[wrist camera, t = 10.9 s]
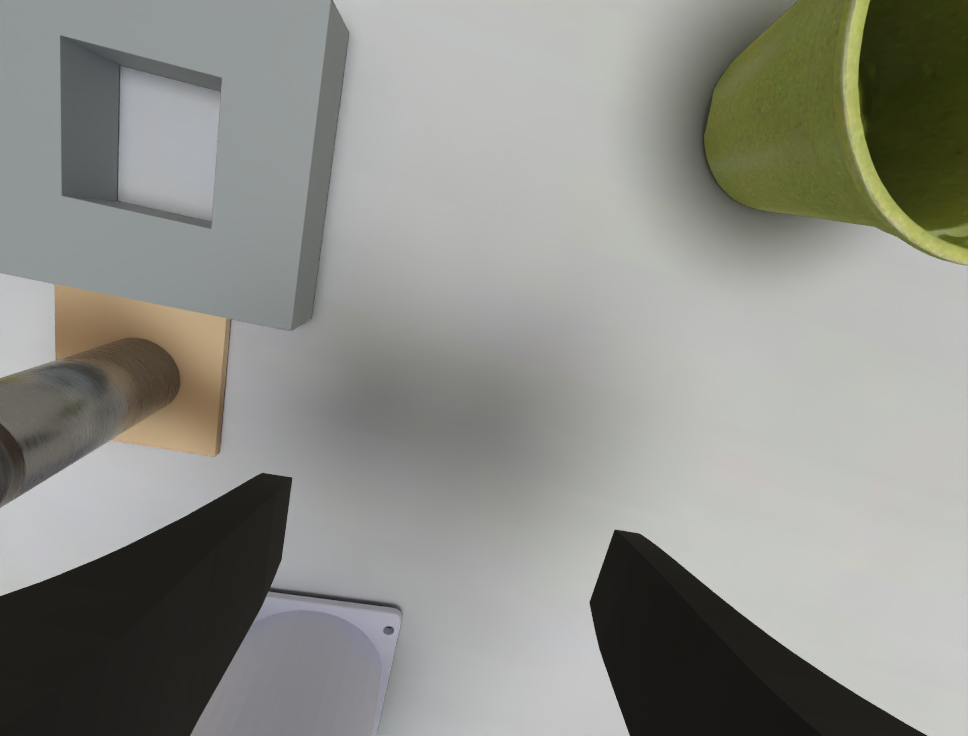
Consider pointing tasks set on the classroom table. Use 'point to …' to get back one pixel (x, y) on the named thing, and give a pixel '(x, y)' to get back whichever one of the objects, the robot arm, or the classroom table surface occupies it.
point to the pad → (179, 332)
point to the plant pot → (852, 119)
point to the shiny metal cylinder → (77, 407)
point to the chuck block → (239, 162)
